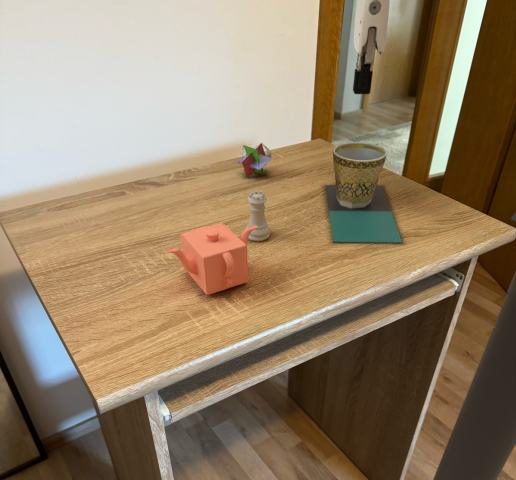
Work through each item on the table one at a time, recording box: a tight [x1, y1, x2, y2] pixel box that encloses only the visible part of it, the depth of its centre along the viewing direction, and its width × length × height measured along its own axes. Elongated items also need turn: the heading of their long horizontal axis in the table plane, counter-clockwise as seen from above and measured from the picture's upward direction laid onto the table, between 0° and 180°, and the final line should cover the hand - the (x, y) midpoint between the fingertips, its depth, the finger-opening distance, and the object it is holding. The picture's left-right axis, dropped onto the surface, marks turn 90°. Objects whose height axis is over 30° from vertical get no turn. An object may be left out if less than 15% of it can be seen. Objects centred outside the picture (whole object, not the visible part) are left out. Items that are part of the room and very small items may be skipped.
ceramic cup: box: [332, 141, 388, 208], centre depth 95 cm, size 13×10×10 cm
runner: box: [325, 184, 403, 244], centre depth 95 cm, size 12×24×1 cm, turn 177°
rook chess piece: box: [245, 190, 271, 242], centre depth 85 cm, size 4×4×8 cm
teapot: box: [165, 222, 257, 296], centre depth 75 cm, size 12×15×8 cm
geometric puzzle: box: [237, 142, 273, 179], centre depth 107 cm, size 7×7×8 cm
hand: (361, 92), depth 96 cm, fingers closed
